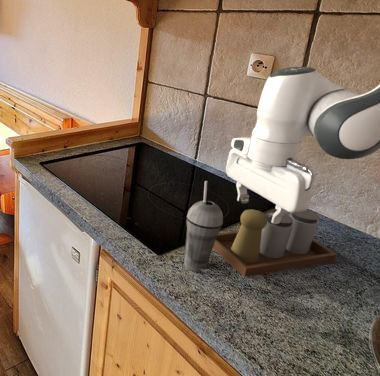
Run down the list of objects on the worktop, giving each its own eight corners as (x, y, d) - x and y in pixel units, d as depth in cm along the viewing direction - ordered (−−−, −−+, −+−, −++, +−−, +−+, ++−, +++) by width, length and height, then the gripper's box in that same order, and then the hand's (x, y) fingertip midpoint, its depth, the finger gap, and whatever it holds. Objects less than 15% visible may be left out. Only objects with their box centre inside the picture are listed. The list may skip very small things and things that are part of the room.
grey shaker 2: (294, 239, 98) (305, 206, 94) (314, 252, 93) (327, 218, 89) (275, 242, 97) (285, 209, 93) (294, 256, 92) (305, 221, 88)
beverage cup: (208, 279, 85) (228, 193, 76) (173, 268, 88) (189, 184, 79) (215, 262, 90) (234, 180, 82) (182, 252, 94) (197, 172, 85)
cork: (231, 245, 95) (242, 203, 91) (260, 252, 93) (272, 210, 88) (227, 257, 91) (238, 214, 86) (257, 266, 88) (270, 222, 83)
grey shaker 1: (270, 243, 97) (280, 209, 93) (289, 256, 92) (301, 222, 88) (250, 246, 95) (259, 212, 91) (268, 260, 90) (279, 225, 86)
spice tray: (286, 233, 102) (289, 223, 101) (333, 264, 90) (337, 254, 89) (204, 244, 97) (207, 234, 96) (243, 279, 85) (246, 268, 84)
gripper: (330, 168, 73) (309, 234, 78) (251, 135, 91) (238, 190, 96) (301, 171, 71) (281, 238, 77) (226, 137, 89) (215, 193, 95)
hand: (257, 211), depth 87 cm, fingers open, 8 cm apart
